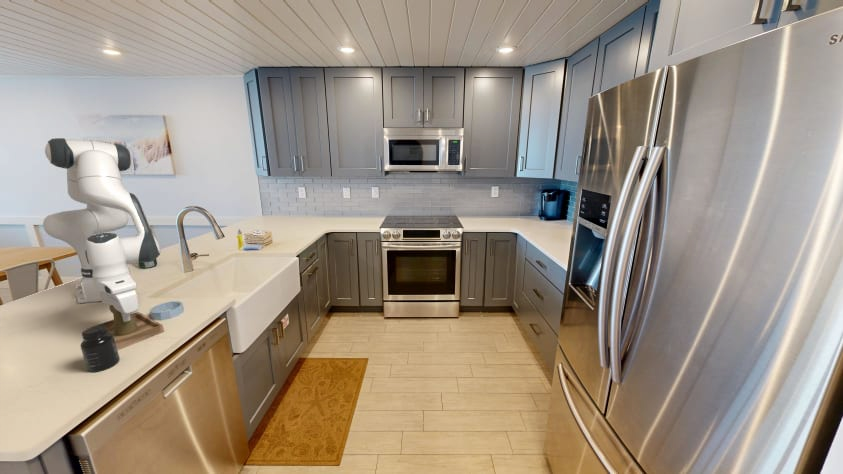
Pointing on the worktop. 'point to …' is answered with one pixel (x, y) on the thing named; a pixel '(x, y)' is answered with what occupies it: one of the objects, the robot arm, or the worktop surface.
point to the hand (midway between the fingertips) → (123, 318)
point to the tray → (144, 331)
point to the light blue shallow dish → (176, 310)
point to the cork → (122, 323)
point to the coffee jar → (148, 264)
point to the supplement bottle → (99, 349)
